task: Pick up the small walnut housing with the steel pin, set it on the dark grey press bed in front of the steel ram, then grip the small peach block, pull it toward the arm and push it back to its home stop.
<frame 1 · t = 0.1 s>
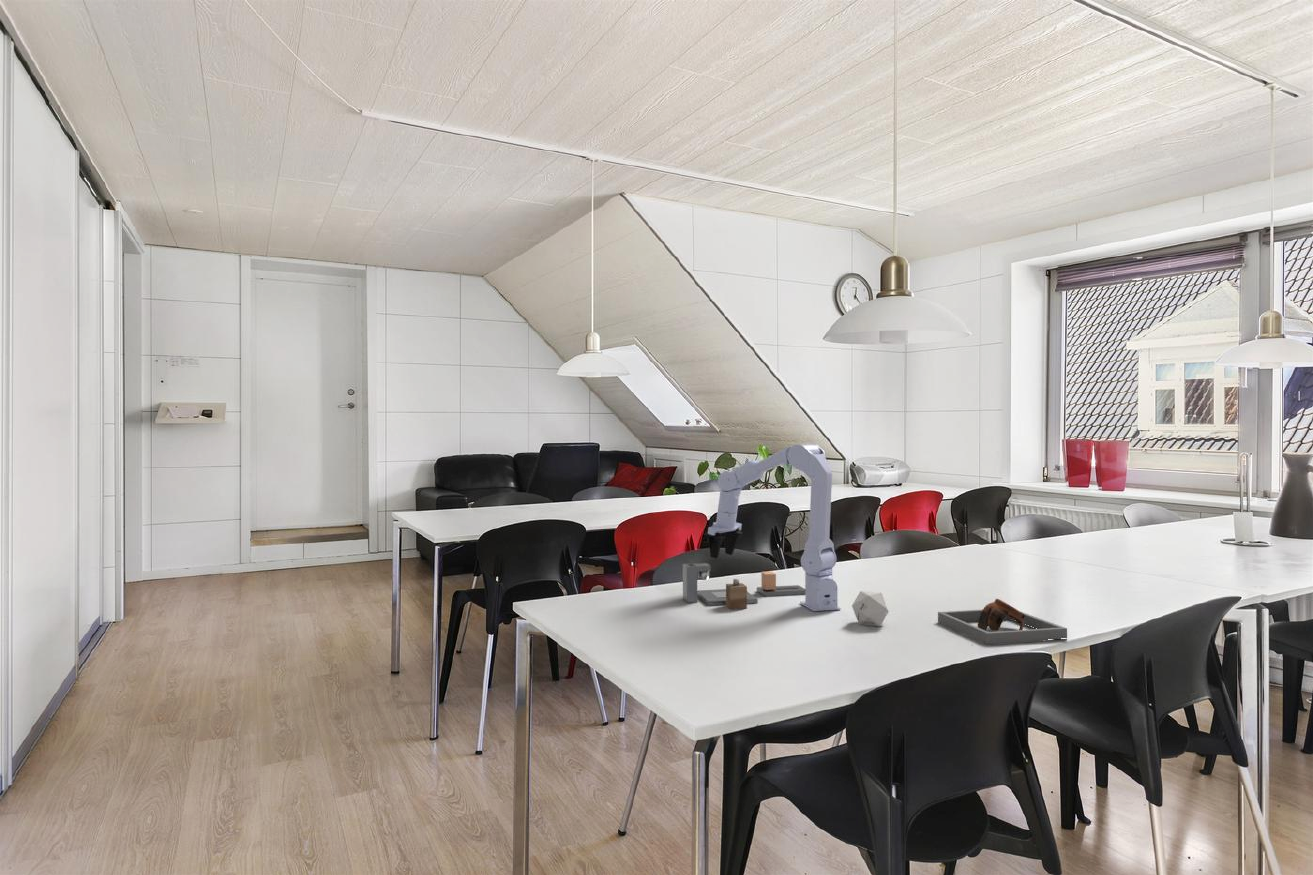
hand: (721, 555, 225), 11 cm above the table, tool pointing down, fingers open, 7 cm apart
press: (726, 598, 215), on the table
mug tray: (999, 630, 180), on the table
lever base: (781, 592, 223), on the table
housing: (736, 607, 205), on the table
brown arched piece: (999, 631, 180), resting in mug tray
peach small block: (768, 580, 222), point 4 cm above the table, slide at 0.0 cm
die: (870, 624, 187), on the table
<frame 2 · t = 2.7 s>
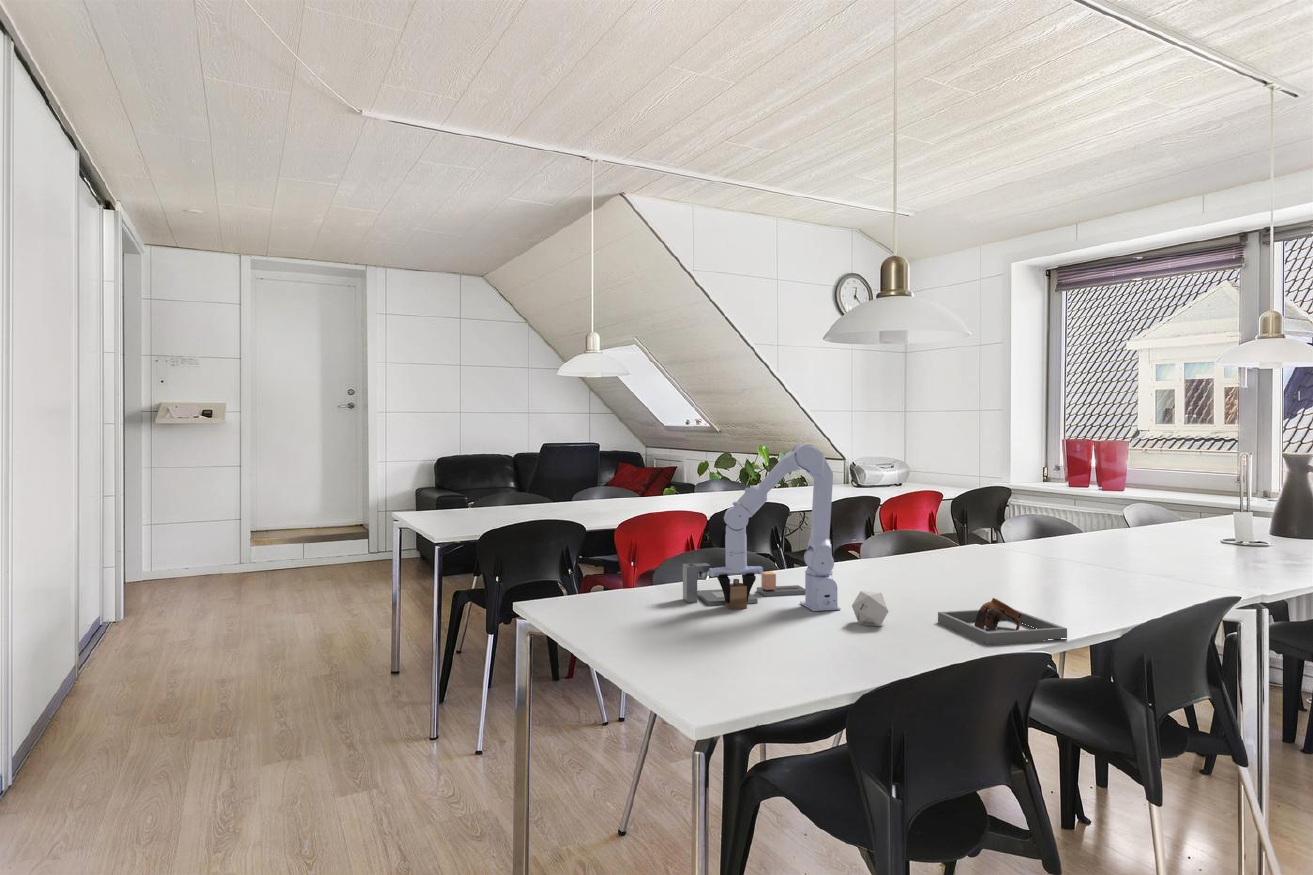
hand: (736, 601, 205), 1 cm above the table, tool pointing down, fingers closed on housing, 4 cm apart
housing: (736, 607, 205), on the table, touching gripper
when the fingers open (4 cm above the table, at t = 5.9 s): housing drops 1 cm, resting on press.
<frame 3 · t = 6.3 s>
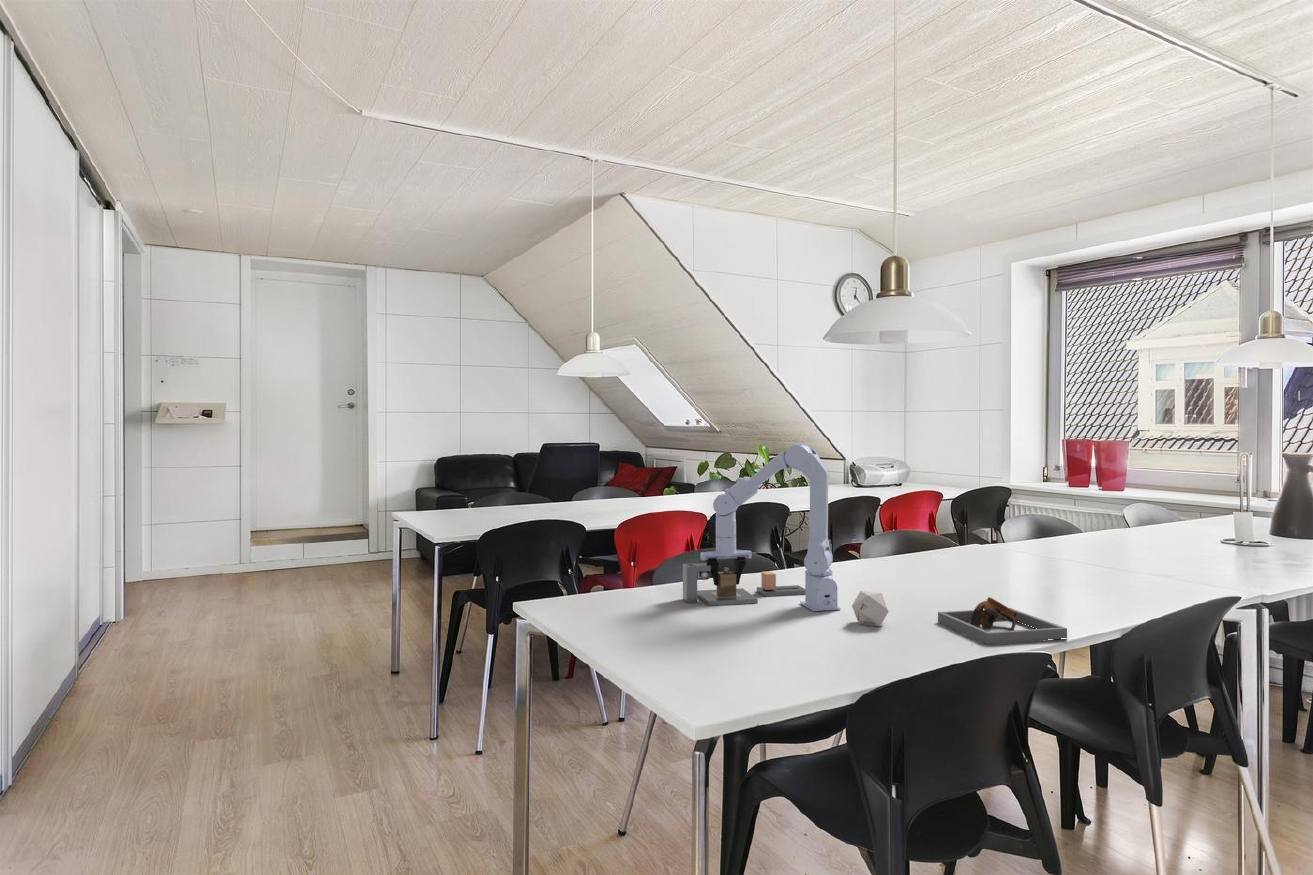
hand: (726, 584, 215), 4 cm above the table, tool pointing down, fingers open, 6 cm apart
housing: (726, 594, 215), point 1 cm above the table, touching press
brown arched piece: (991, 630, 182), resting in mug tray
everything else where it was.
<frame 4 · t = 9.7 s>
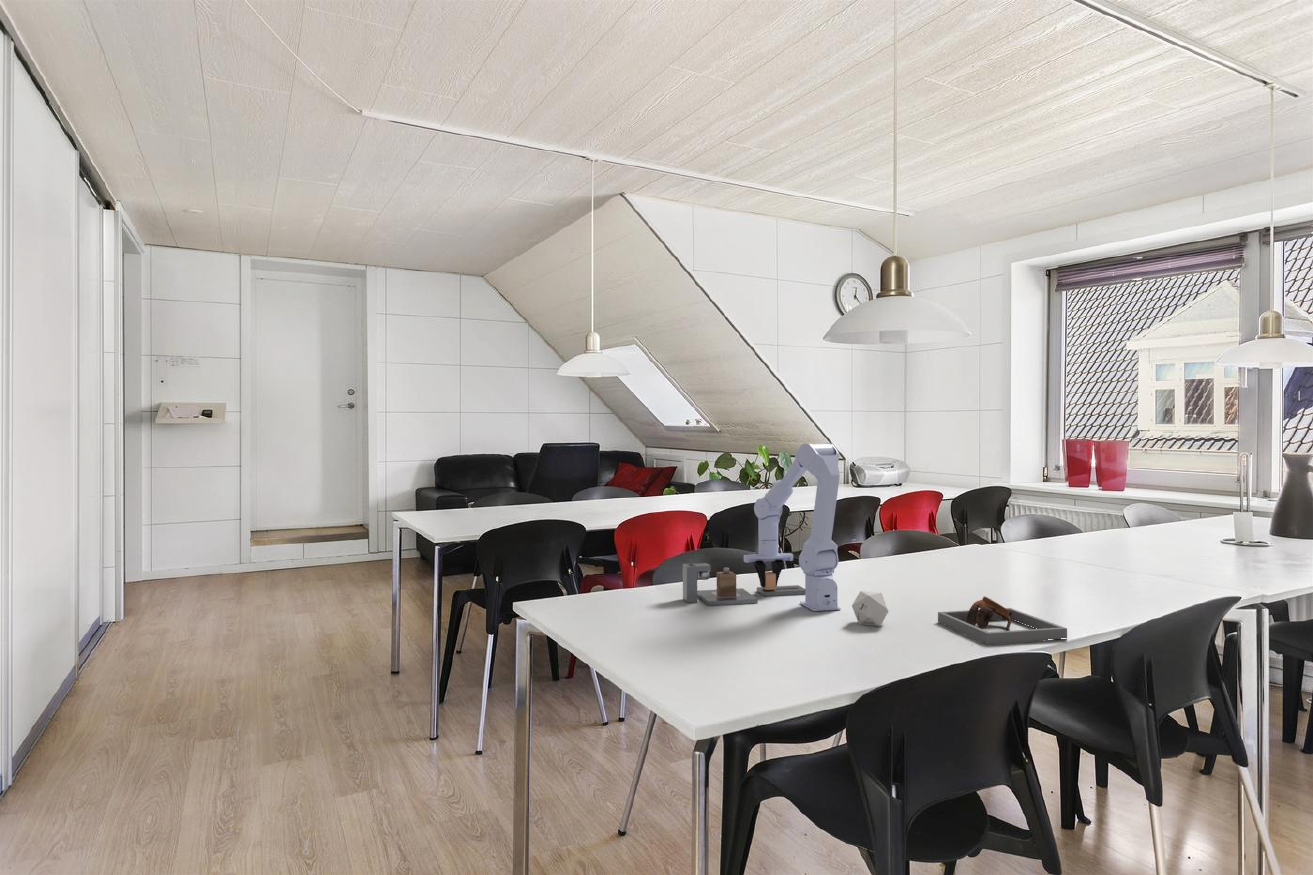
hand: (768, 586, 222), 2 cm above the table, tool pointing down, fingers closed on peach small block, 3 cm apart
brown arched piece: (986, 629, 183), resting in mug tray
peach small block: (768, 580, 222), point 4 cm above the table, slide at 0.0 cm, touching gripper
everything else where it was.
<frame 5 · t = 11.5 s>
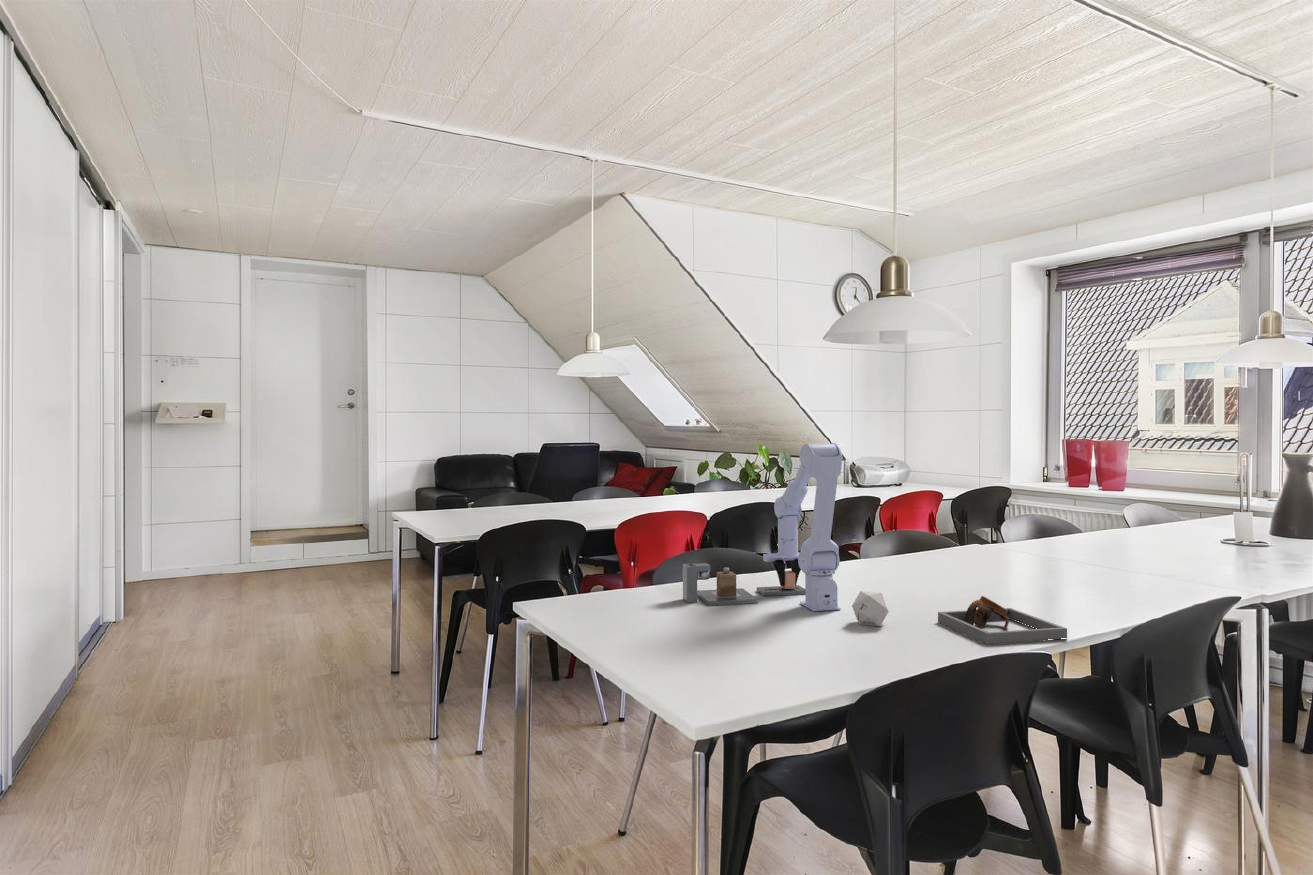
hand: (788, 585, 223), 2 cm above the table, tool pointing down, fingers closed on peach small block, 3 cm apart
peach small block: (788, 579, 223), point 4 cm above the table, slide at 6.0 cm, touching gripper
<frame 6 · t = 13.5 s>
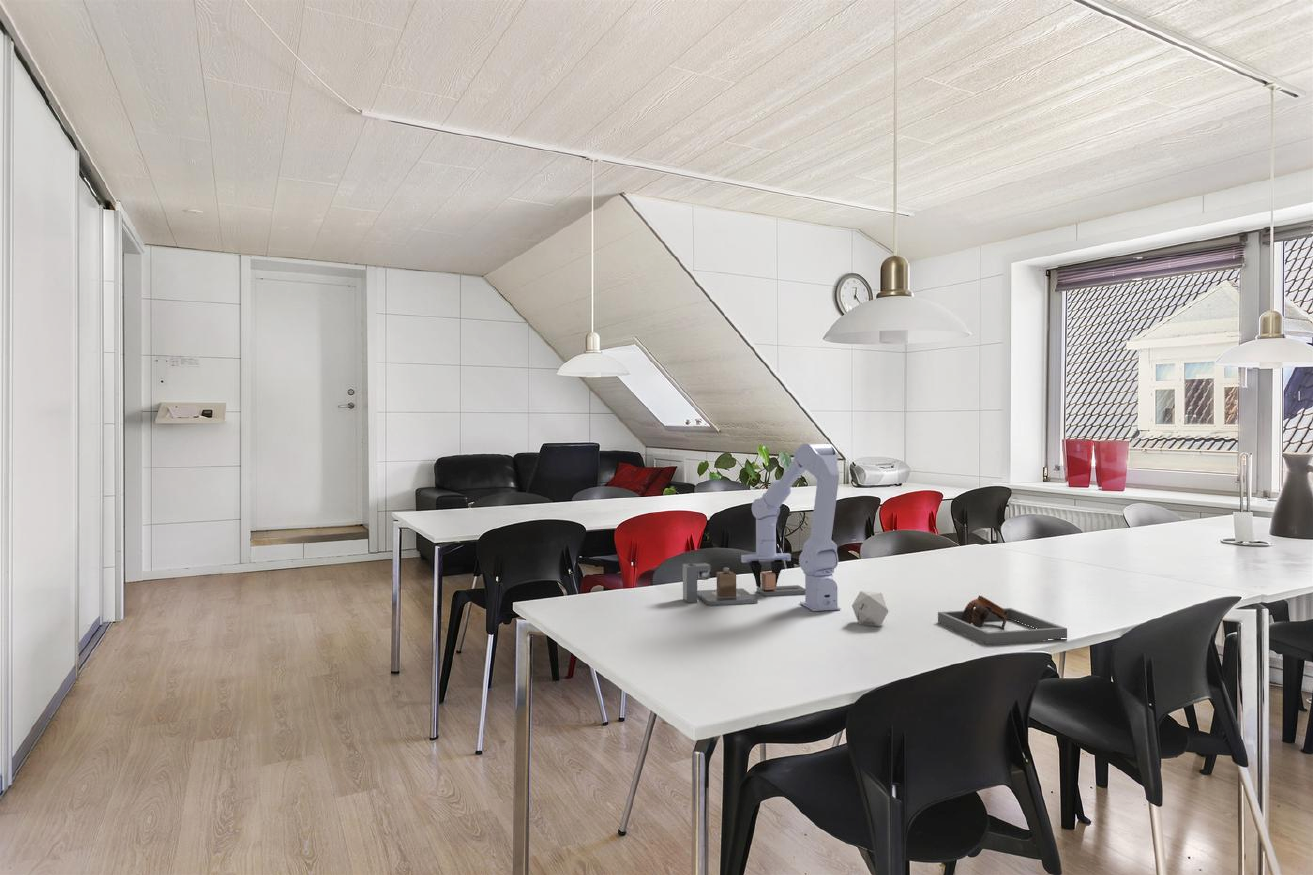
hand: (766, 586, 222), 2 cm above the table, tool pointing down, fingers open, 4 cm apart
peach small block: (768, 580, 222), point 4 cm above the table, slide at -0.1 cm, touching gripper
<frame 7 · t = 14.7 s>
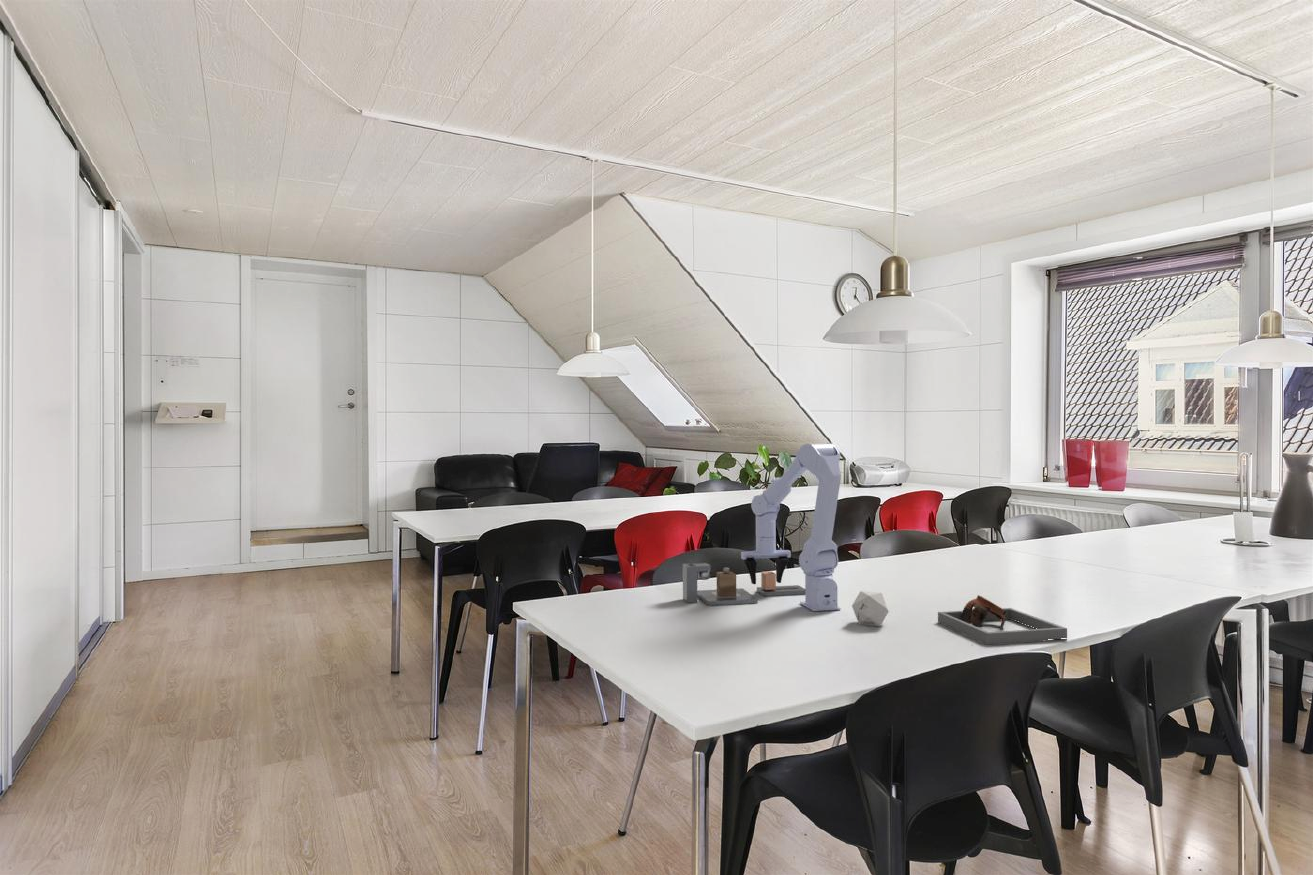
hand: (766, 582, 222), 3 cm above the table, tool pointing down, fingers open, 7 cm apart
peach small block: (768, 580, 222), point 4 cm above the table, slide at 0.0 cm
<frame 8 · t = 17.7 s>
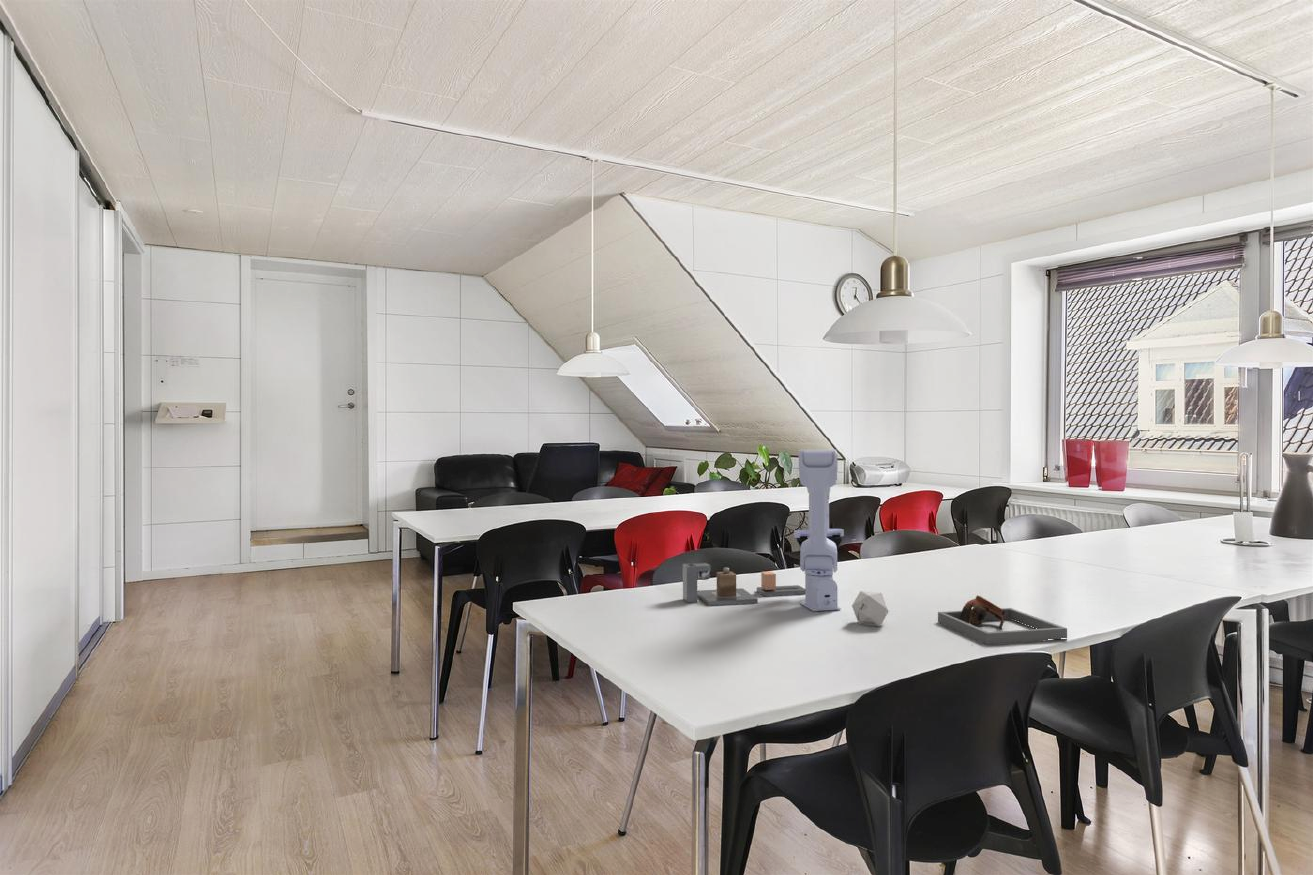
hand: (819, 561, 220), 9 cm above the table, tool pointing down, fingers open, 7 cm apart
at the end: housing 0.3 cm off-centre on the press, point 1.3 cm above the press's base; housing tilted 0°; peach small block slide at 0.0 cm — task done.
